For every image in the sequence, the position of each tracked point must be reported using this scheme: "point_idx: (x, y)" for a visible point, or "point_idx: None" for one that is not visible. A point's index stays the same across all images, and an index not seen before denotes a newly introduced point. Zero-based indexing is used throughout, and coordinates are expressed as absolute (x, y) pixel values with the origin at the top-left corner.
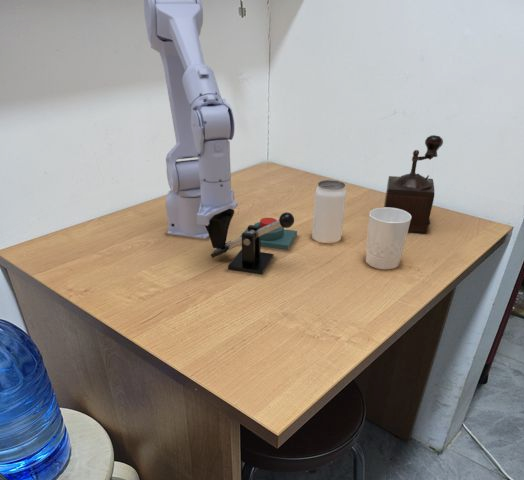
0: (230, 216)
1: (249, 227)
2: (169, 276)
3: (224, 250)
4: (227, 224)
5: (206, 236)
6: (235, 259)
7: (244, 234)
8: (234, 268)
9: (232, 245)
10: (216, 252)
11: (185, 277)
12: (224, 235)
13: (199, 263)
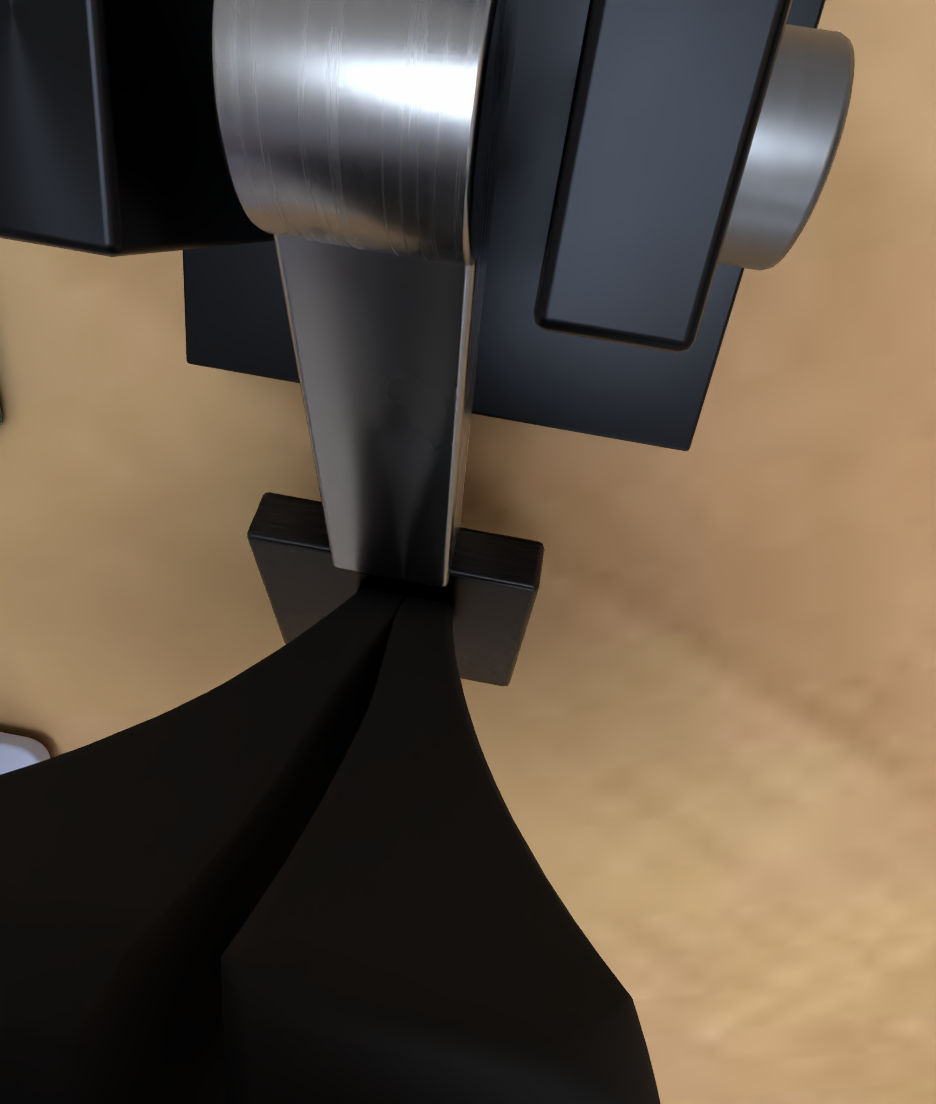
0: (151, 932)
1: (118, 184)
2: (800, 893)
3: (538, 573)
4: (273, 790)
5: (14, 751)
6: (489, 389)
7: (718, 252)
8: (712, 361)
9: (458, 490)
10: (518, 648)
11: (825, 790)
12: (419, 694)
13: (531, 723)
